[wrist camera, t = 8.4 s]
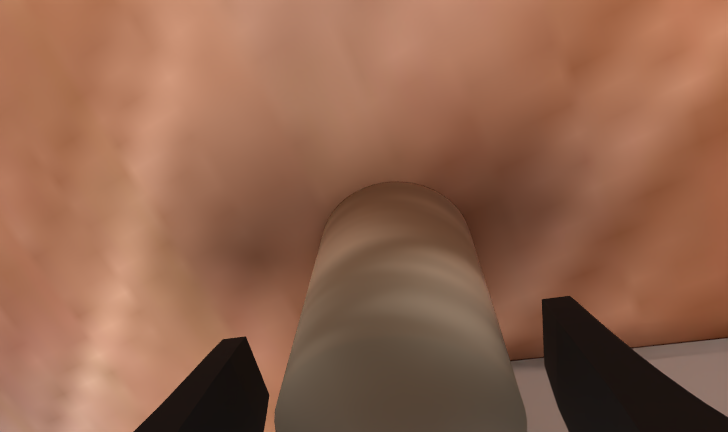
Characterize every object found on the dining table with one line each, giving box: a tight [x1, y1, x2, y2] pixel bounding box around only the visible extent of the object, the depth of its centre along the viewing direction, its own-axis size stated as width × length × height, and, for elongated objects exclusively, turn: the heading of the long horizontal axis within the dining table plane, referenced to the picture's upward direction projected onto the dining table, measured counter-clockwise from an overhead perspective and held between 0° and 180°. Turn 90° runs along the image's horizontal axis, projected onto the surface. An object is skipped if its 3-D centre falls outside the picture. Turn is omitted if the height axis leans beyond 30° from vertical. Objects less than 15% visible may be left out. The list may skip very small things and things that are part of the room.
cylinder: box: [274, 182, 527, 432], centre depth 12 cm, size 5×5×7 cm
